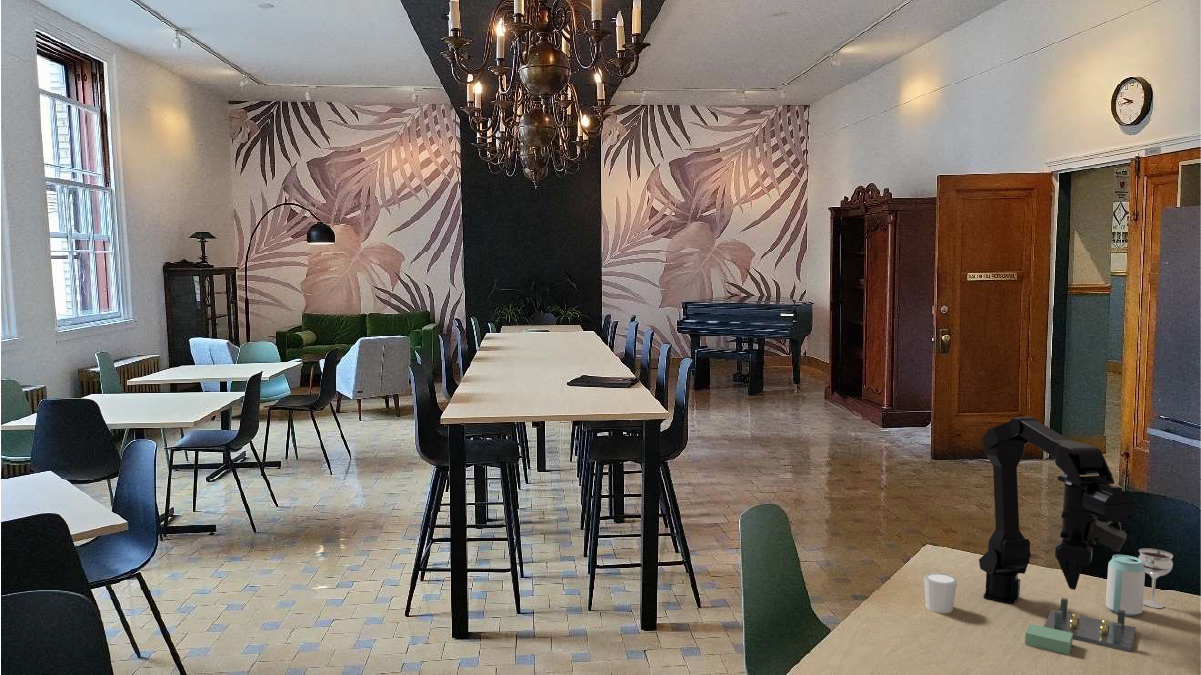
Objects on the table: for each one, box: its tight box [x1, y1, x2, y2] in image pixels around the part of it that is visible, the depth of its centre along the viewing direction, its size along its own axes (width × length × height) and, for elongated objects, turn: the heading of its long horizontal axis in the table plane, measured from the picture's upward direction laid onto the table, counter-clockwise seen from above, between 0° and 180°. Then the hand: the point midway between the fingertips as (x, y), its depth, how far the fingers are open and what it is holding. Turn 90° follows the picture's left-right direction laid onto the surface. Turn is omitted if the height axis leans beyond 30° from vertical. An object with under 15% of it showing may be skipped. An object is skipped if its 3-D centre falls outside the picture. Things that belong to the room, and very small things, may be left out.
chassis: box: [1043, 597, 1137, 652], centre depth 185 cm, size 16×12×4 cm
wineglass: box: [1137, 548, 1174, 608], centre depth 199 cm, size 7×7×12 cm
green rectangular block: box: [1024, 623, 1073, 655], centre depth 179 cm, size 8×6×3 cm
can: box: [1105, 554, 1146, 617], centre depth 196 cm, size 7×7×12 cm
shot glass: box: [923, 572, 958, 614], centre depth 197 cm, size 7×7×7 cm
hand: (1074, 582), depth 179 cm, fingers open, 9 cm apart
